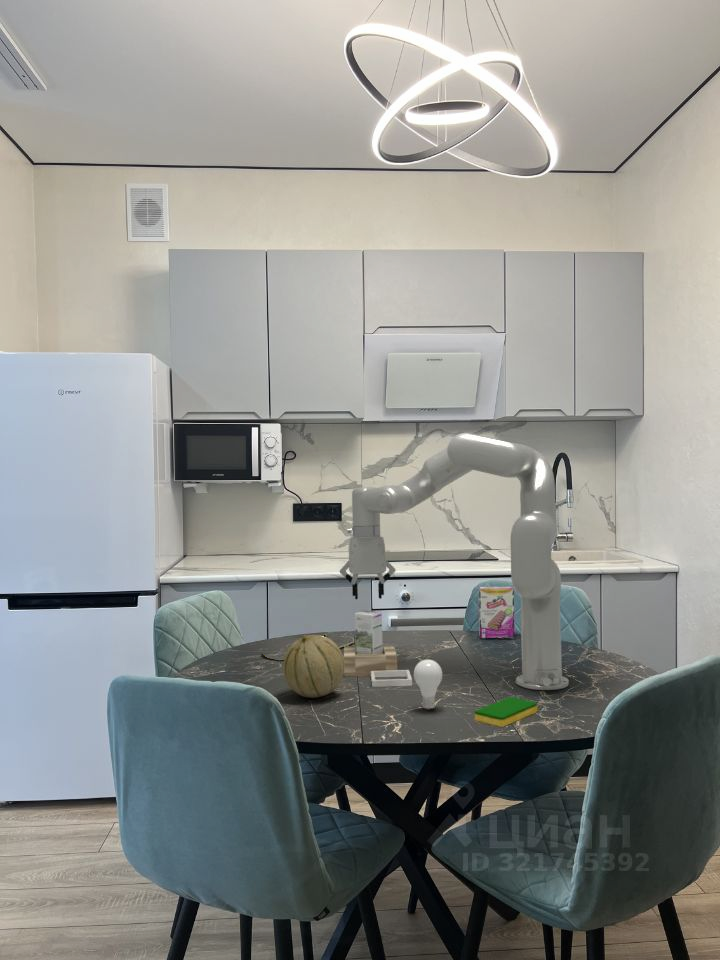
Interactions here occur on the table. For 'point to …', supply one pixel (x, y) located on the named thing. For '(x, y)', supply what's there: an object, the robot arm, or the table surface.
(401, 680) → the stand frame
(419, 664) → the lightbulb
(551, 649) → the robot arm
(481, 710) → the dish sponge
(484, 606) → the candy bar box
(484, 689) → the table surface
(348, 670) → the block
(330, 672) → the cantaloupe
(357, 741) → the table surface
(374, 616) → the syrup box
